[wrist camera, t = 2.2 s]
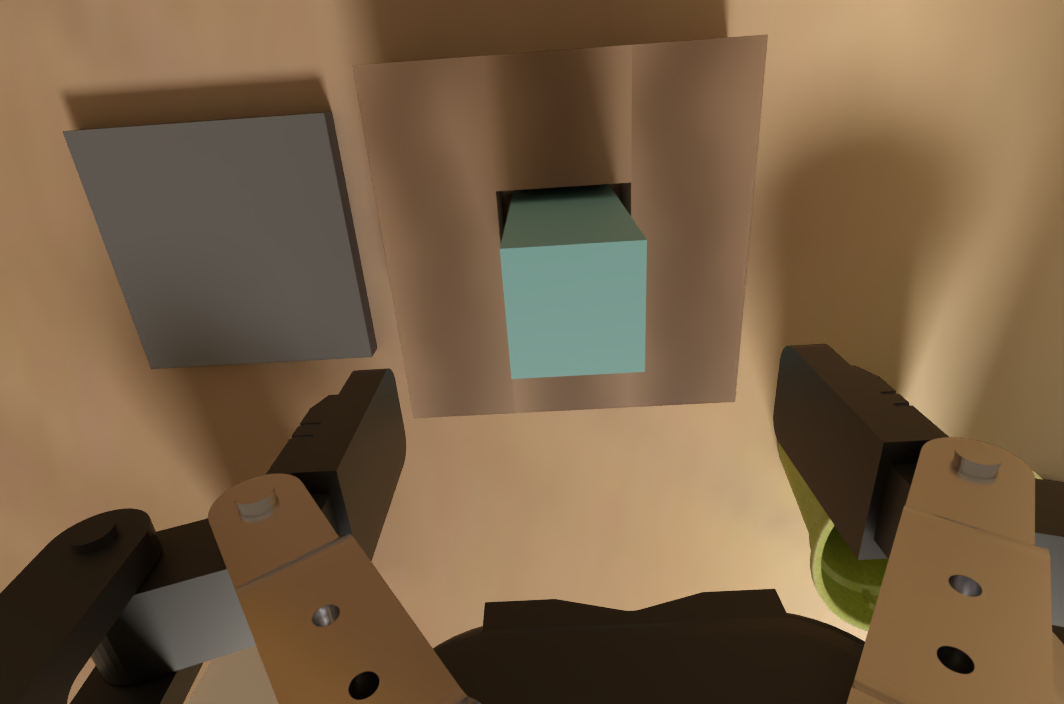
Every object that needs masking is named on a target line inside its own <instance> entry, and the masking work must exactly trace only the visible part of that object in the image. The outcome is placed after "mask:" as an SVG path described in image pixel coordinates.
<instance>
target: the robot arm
mask: <svg viewBox="0 0 1064 704" xmlns="http://www.w3.org/2000/svg"><path fill="white" fill-rule="evenodd" d="M773 421H774V429H775V434H776V437H777V440H778V442H779V444H780V445H781V447H782V448H783V450H784V451H785V453H786V454H787V456H788V457H789V459H790V460H791V462H792V463H793V465H794V466H795V468H796V469H797V470H798V472H799V473H800V475H801V476H802V478H803V479H804V481H805V482H806V484H807V485H808V487H809V488H810V490H811V491H812V493H813V494H814V496H815V497H816V499H817V500H818V502H819V503H820V505H821V506H822V508H823V509H824V511H825V512H826V514H827V515H828V516H829V518H830V519H831V521H832V522H833V524H834V525H835V527H836V528H837V530H838V531H839V533H840V534H841V536H842V537H843V539H844V540H845V542H846V543H847V545H848V546H849V548H850V549H851V551H852V552H853V554H854V555H855V557H856V558H857V559H858V560H866V559H886V558H888V559H889V561H888V564H887V567H886V571H885V574H884V578H883V581H882V585H881V588H880V592H879V595H878V599H877V602H876V606H875V609H874V613H873V616H872V620H871V623H870V627H869V630H868V634H867V637H866V641H865V642H864V641H863V640H861V639H859V638H857V637H855V636H854V635H852V634H850V633H847V632H845V631H843V630H841V629H838V628H836V627H834V626H832V625H829V624H826V623H823V622H820V621H818V620H815V619H811V618H807V617H803V616H800V615H796V614H790V613H786V611H785V609H784V607H783V605H782V603H781V601H780V598H779V596H778V594H777V592H776V590H775V589H762V590H741V591H719V592H702V593H699V594H695V595H691V596H688V597H684V598H681V599H677V600H673V601H670V602H666V603H663V604H659V605H655V606H652V607H648V608H645V609H641V610H636V611H623V610H617V609H611V608H605V607H599V606H593V605H587V604H581V603H575V602H569V601H563V600H557V599H549V600H528V601H507V602H486V603H485V609H484V620H483V626H482V627H478V628H475V629H472V630H469V631H467V632H464V633H462V634H459V635H457V636H454V637H453V638H451V639H449V640H447V641H445V642H443V643H441V644H439V645H438V646H436V647H435V648H432V647H431V646H430V644H429V643H428V641H427V640H426V638H425V637H424V636H423V634H422V633H421V631H420V630H419V629H418V627H417V626H416V624H415V623H414V622H413V620H412V619H411V617H410V616H409V615H408V613H407V612H406V610H405V609H404V607H403V606H402V605H401V603H400V602H399V600H398V599H397V598H396V596H395V595H394V593H393V592H392V591H391V589H390V588H389V586H388V585H387V584H386V582H385V581H384V579H383V578H382V576H381V575H380V574H379V572H378V571H377V569H376V568H375V567H374V565H373V564H372V562H371V561H372V558H373V555H374V552H375V549H376V546H377V543H378V540H379V537H380V534H381V531H382V528H383V525H384V522H385V519H386V516H387V513H388V510H389V507H390V504H391V501H392V498H393V495H394V492H395V489H396V486H397V483H398V480H399V477H400V474H401V471H402V468H403V465H404V461H405V455H406V437H405V430H404V424H403V419H402V414H401V408H400V403H399V398H398V392H397V387H396V381H395V377H394V374H393V372H392V370H391V369H374V370H357V371H353V372H352V373H351V375H350V377H349V378H348V380H347V381H346V383H345V385H344V386H343V388H342V390H341V391H340V393H339V395H328V396H327V397H326V398H324V399H323V400H322V401H320V402H319V403H317V404H316V405H315V406H313V407H312V408H310V410H309V411H308V413H307V414H306V416H305V417H304V419H303V420H302V422H301V423H300V426H299V427H298V428H297V429H296V431H295V432H294V434H293V435H292V439H289V441H288V442H287V444H286V445H285V447H284V448H283V450H282V451H281V453H280V454H279V456H278V457H277V459H276V460H275V462H274V463H273V465H272V466H271V468H270V469H269V471H268V472H267V474H266V475H262V476H258V477H254V478H251V479H248V480H246V481H243V482H241V483H239V484H237V485H235V486H233V487H232V488H230V489H229V490H227V491H226V492H224V493H223V494H222V495H221V496H219V497H218V498H217V500H216V501H215V502H214V503H213V504H212V506H211V508H210V510H209V513H208V518H207V519H204V520H200V521H196V522H193V523H189V524H185V525H181V526H177V527H173V528H169V529H165V530H161V531H157V532H156V531H155V529H154V526H153V524H152V522H151V519H150V517H149V516H148V514H147V513H145V512H144V511H142V510H138V509H118V510H113V511H108V512H104V513H101V514H98V515H95V516H93V517H90V518H87V519H85V520H83V521H81V522H79V523H77V524H75V525H73V526H72V527H70V528H68V529H67V530H65V531H64V532H62V533H61V534H59V535H58V536H57V537H55V538H54V539H53V540H52V541H51V542H50V543H49V544H48V545H47V546H46V547H45V548H44V549H43V550H42V551H41V552H40V553H39V554H38V555H37V556H36V557H35V558H34V559H33V560H32V561H31V562H30V563H29V564H28V565H27V566H26V567H25V568H24V569H23V570H22V572H21V573H20V574H19V575H18V576H17V577H16V578H15V579H14V580H13V581H12V582H11V583H10V584H9V585H8V586H7V587H6V588H5V589H4V590H3V591H2V592H1V593H0V704H67V699H68V695H69V692H70V689H71V686H72V684H73V682H74V680H75V679H76V677H77V675H78V674H79V672H80V671H81V670H82V668H83V667H84V665H85V664H86V662H87V661H88V660H89V658H90V657H91V658H92V659H93V661H94V663H95V665H96V666H95V668H94V669H93V671H92V672H91V674H90V675H89V676H88V678H87V679H86V681H85V682H84V684H83V685H82V687H81V688H80V690H79V691H78V693H77V694H76V696H75V697H74V699H73V700H72V701H71V703H70V704H183V702H184V700H185V698H186V696H187V694H188V692H189V690H190V688H191V686H192V684H193V682H194V680H195V678H196V676H197V674H198V672H199V670H200V668H201V666H202V664H203V662H206V661H209V660H212V659H215V658H218V657H221V656H225V655H228V654H231V653H234V652H237V651H240V650H243V649H247V648H250V647H253V646H256V647H257V649H258V652H259V655H260V657H261V660H262V662H263V665H264V668H265V670H266V673H267V676H268V678H269V681H270V683H271V686H272V689H273V691H274V694H275V697H276V699H277V702H278V704H1064V482H1059V481H1052V480H1044V479H1037V478H1035V475H1034V473H1033V471H1032V469H1031V468H1030V467H1029V466H1028V464H1026V463H1025V462H1024V461H1023V460H1022V459H1020V458H1019V457H1017V456H1016V455H1014V454H1012V453H1010V452H1008V451H1006V450H1004V449H1002V448H999V447H997V446H994V445H991V444H988V443H985V442H981V441H977V440H972V439H966V438H957V437H948V436H947V435H946V434H945V433H944V432H943V431H941V430H940V429H939V428H938V427H937V426H936V425H934V424H933V423H932V422H931V421H930V420H929V419H927V418H926V417H925V416H924V415H923V414H922V413H921V412H919V411H918V410H917V409H916V408H915V407H914V406H909V402H908V401H907V400H905V399H904V398H903V397H902V396H901V395H900V394H896V391H895V390H894V389H893V388H892V387H890V386H889V385H888V384H887V383H886V382H885V381H883V380H882V379H881V378H880V377H878V376H876V375H874V374H872V373H870V372H868V371H865V370H863V369H861V368H859V367H857V366H851V365H850V364H848V363H847V362H846V361H845V360H844V359H843V358H842V357H841V356H840V355H839V354H837V353H836V352H835V351H834V350H833V349H832V348H831V347H830V346H828V345H827V344H812V345H795V346H786V347H785V348H784V349H783V351H782V354H781V358H780V365H779V373H778V381H777V389H776V397H775V405H774V415H773Z"/></svg>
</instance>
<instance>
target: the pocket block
mask: <svg viewBox="0 0 1064 704" xmlns="http://www.w3.org/2000/svg"><path fill="white" fill-rule="evenodd" d="M767 38H768V35H755V36H742V37H728V38H715V39H701V40H688V41H674V42H661V43H648V44H634V45H621V46H607V47H594V48H580V49H567V50H553V51H540V52H526V53H513V54H499V55H486V56H472V57H459V58H445V59H432V60H418V61H405V62H391V63H378V64H364V65H353V71H354V77H355V83H356V88H357V94H358V100H359V106H360V111H361V117H362V123H363V129H364V135H365V140H366V146H367V152H368V158H369V163H370V169H371V175H372V181H373V187H374V192H375V198H376V204H377V210H378V215H379V221H380V227H381V233H382V238H383V244H384V250H385V256H386V262H387V267H388V273H389V279H390V285H391V290H392V296H393V302H394V308H395V313H396V319H397V325H398V331H399V337H400V342H401V348H402V354H403V360H404V365H405V371H406V377H407V383H408V388H409V394H410V400H411V406H412V412H413V417H414V418H428V417H448V416H467V415H487V414H506V413H526V412H545V411H565V410H584V409H604V408H623V407H643V406H662V405H682V404H701V403H720V402H735V396H736V385H737V374H738V362H739V351H740V340H741V329H742V318H743V307H744V295H745V284H746V273H747V262H748V251H749V240H750V228H751V217H752V206H753V195H754V184H755V172H756V161H757V150H758V139H759V128H760V117H761V105H762V94H763V83H764V72H765V61H766V49H767ZM600 184H609V185H610V187H611V188H612V190H613V191H614V193H615V194H616V195H617V197H618V198H619V200H620V201H621V203H622V204H623V206H624V207H625V209H626V210H627V211H628V213H629V214H630V216H631V217H632V219H633V220H634V222H635V223H636V225H637V226H638V228H639V229H640V230H641V232H642V233H643V235H644V236H645V238H646V239H647V269H646V332H645V372H634V373H616V374H597V375H578V376H560V377H541V378H522V379H511V369H510V357H509V346H508V335H507V324H506V313H505V302H504V291H503V280H502V269H501V258H500V246H501V241H502V237H503V233H504V229H505V224H506V220H507V216H508V212H509V207H510V203H511V199H512V195H513V191H514V190H524V189H539V188H554V187H570V186H585V185H600Z"/></svg>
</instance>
